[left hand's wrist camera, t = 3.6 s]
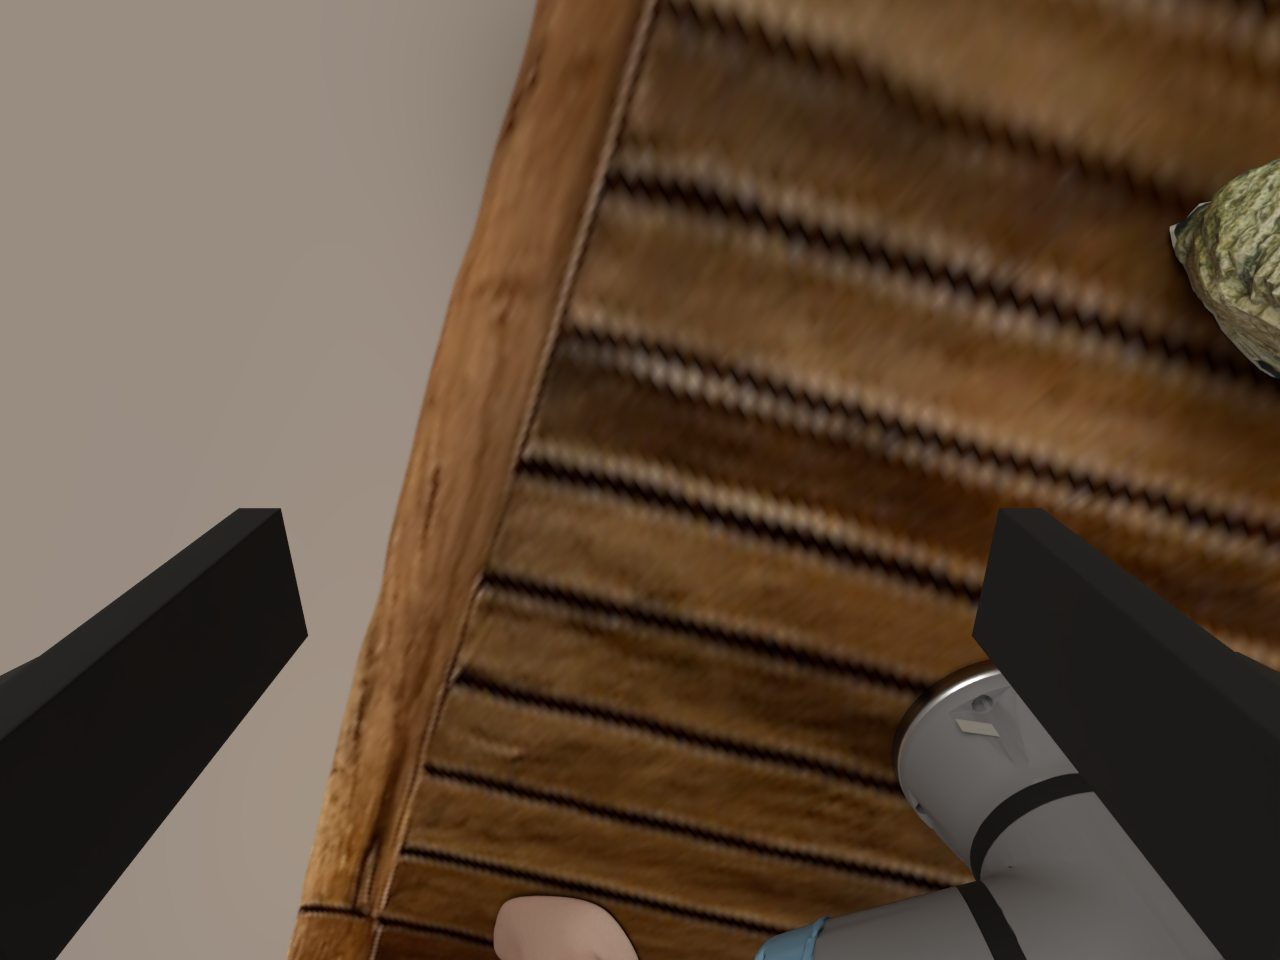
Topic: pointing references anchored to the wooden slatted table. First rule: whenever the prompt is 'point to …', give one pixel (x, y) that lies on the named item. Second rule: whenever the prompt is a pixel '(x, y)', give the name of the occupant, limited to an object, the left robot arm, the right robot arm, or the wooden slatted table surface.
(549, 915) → the anatomical model
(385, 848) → the wooden slatted table surface
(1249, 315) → the fossil
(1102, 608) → the left robot arm
